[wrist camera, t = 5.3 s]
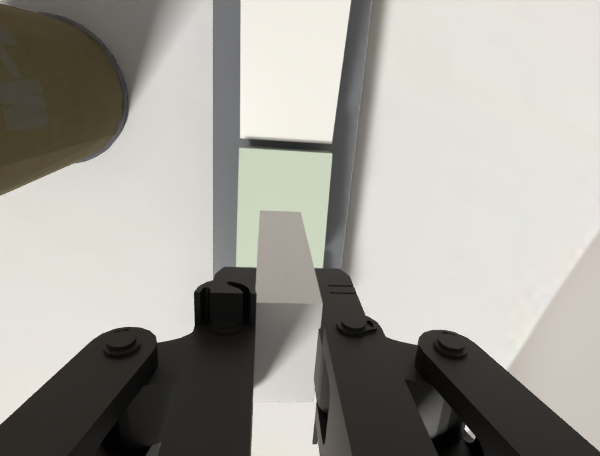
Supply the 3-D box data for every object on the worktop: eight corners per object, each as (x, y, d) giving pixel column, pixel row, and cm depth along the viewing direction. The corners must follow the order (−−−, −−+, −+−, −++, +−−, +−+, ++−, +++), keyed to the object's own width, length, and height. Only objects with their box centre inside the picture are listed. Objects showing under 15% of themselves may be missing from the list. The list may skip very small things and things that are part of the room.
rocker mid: (237, 269, 31) (235, 279, 29) (241, 145, 28) (239, 147, 26) (318, 272, 31) (321, 282, 29) (328, 150, 29) (332, 153, 27)
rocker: (242, 127, 28) (240, 138, 27) (243, -26, 23) (240, -24, 22) (328, 132, 29) (331, 144, 27) (347, -16, 24) (352, -13, 22)
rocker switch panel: (218, 363, 39) (211, 398, 35) (219, -54, 28) (210, -77, 24) (324, 365, 40) (330, 399, 36) (369, -39, 29) (386, -59, 24)
